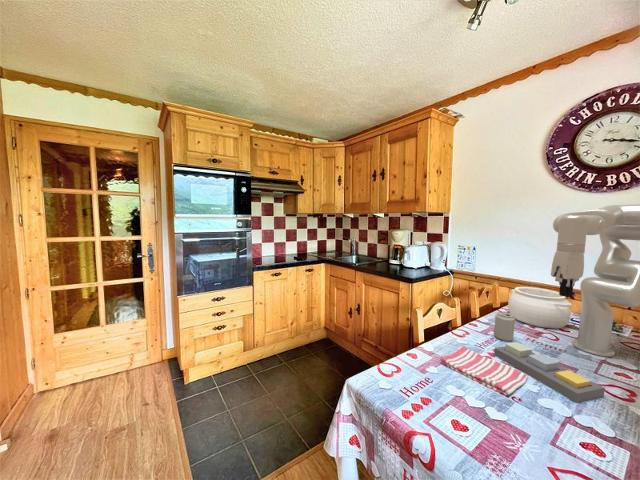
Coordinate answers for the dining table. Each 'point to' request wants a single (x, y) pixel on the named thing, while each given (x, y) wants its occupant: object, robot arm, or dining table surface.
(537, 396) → the dining table surface
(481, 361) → the dish towel
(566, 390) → the button board
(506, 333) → the can
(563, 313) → the pot
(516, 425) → the dining table surface
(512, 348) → the sage button
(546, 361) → the blue button
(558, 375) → the mustard button
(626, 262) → the robot arm
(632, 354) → the dining table surface
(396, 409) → the dining table surface
